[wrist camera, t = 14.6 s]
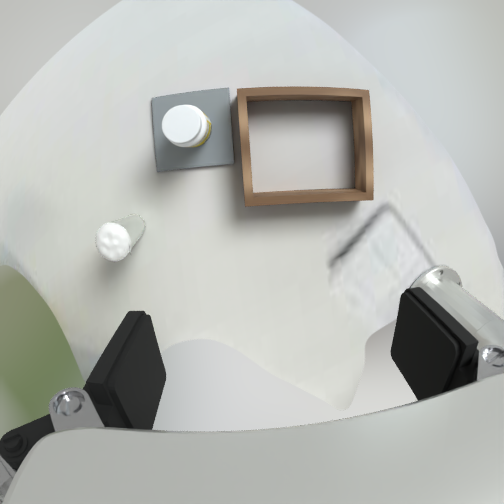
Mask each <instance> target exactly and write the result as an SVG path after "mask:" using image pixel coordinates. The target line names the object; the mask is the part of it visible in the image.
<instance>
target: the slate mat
mask: <svg viewBox="0 0 504 504" xmlns="http://www.w3.org/2000/svg"><path fill="white" fill-rule="evenodd" d="M179 105H192V106H195V107H197V108H199V109H200V110H201V111H202V112H203V113H204V114H205V115H206V116H207V117H208V118H209V119H210V121H211V124H212V133H211V135H210V137H209V139H208V140H207V141H206V142H205V143H204V144H203V145H201V146H198V147H179V146H176V145H174V144H173V143H171V142H170V141H169V140H168V139H167V138H166V136H165V135H164V133H163V131H162V120H163V118H164V116H165V114H166V113H167V112H168V111H169V110H170V109H171V108H173V107H175V106H179ZM152 111H153V127H154V140H155V152H156V163H157V172H160V171H168V170H176V169H184V168H193V167H203V166H213V165H224V164H234V153H233V139H232V125H231V111H230V97H229V88H220V89H210V90H201V91H193V92H186V93H179V94H172V95H166V96H160V97H155V98H152Z"/></svg>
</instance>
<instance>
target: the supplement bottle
mask: <svg viewBox="0 0 504 504" xmlns="http://www.w3.org/2000/svg"><path fill="white" fill-rule="evenodd" d="M162 131H163V133H164V135H165V136H166V138H167V139H168V140H169V141H170V142H171V143H173V144H174V145H176V146H179V147H198V146H201V145H203V144H204V143H205V142H206V141H207V140H208V139H209V137H210V135H211V133H212V124H211V121H210V119H209V118H208V117H207V116H206V115H205V114H204V113H203V112H202V111H201V110H200V109H199V108H197V107H195V106H192V105H179V106H175V107H173V108H171V109H170V110H169V111H168V112H167V113H166V114H165V116H164V118H163V120H162Z"/></svg>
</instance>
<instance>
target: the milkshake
mask: <svg viewBox="0 0 504 504" xmlns="http://www.w3.org/2000/svg"><path fill="white" fill-rule="evenodd" d="M144 230H145V222H144V220H143V219H142V218H141V217H140V215H136V214H131V215H128V216H126V217H123V218H121V219H118V220H115V221H112V222H109V223H106V224H104V225H102V226H101V227H100V228H99V230H98V231H97V233H96V240H95V241H96V247H97V249H98V251H99V253H100V255H101V256H102V257H103V258H105V259H107V260H110V261H114V262H115V261H119V260H122V259H123V258H125V257H126V256H127V255H128V253H129V251H130V254H131V248H132V247H133V246H134V244H135V243H136V242H137V240H138V239H139V238H140V237H141V235H142V234H143V232H144Z"/></svg>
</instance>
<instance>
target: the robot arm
mask: <svg viewBox="0 0 504 504" xmlns="http://www.w3.org/2000/svg"><path fill="white" fill-rule="evenodd" d="M391 356H392V359H393V361H394V362H395V364H396V365H397V367H398V368H399V370H400V372H401V373H402V374H403V376H404V378H405V380H406V381H407V383H408V385H409V386H410V388H411V389H412V391H413V393H414V394H415V396H416V398H417V399H418V401H416V402H413V403H409V404H405V405H402V406H398V407H394V408H390V409H386V410H382V411H378V412H374V413H369V414H364V415H360V416H355V417H350V418H345V419H339V420H334V421H327V422H321V423H315V424H308V425H300V426H292V427H283V428H272V429H260V430H246V431H245V430H244V431H217V432H191V431H189V432H188V431H161V430H152V428H153V424H154V420H155V417H156V413H157V409H158V406H159V402H160V399H161V395H162V392H163V388H164V385H165V381H166V372H165V368H164V364H163V361H162V357H161V354H160V350H159V347H158V343H157V339H156V336H155V332H154V328H153V324H152V320H151V317H150V315H146V313H145V312H144V311H129V312H128V313H127V315H126V316H125V318H124V319H123V321H122V322H121V324H120V326H119V327H118V329H117V330H116V332H115V334H114V335H113V337H112V339H111V340H110V342H109V344H108V345H107V347H106V349H105V350H104V352H103V354H102V355H101V357H100V359H99V360H98V362H97V364H96V365H95V367H94V369H93V371H92V372H91V374H90V376H89V378H88V379H87V381H86V384H85V386H84V388H83V389H81V388H76V387H75V388H67V389H64V390H61V391H59V392H58V393H57V394H55V395H54V396H53V398H52V399H51V400H50V403H49V412H50V414H48V415H46V416H44V417H41V418H39V419H37V420H34V421H32V422H30V423H28V424H25V425H23V426H21V427H18V428H16V429H13V430H11V431H9V432H7V433H6V434H5V435H4V436H3V437H2V438H1V440H0V504H504V320H503V319H501V318H500V317H499V316H498V315H497V314H495V313H494V312H493V311H492V310H490V309H489V308H488V307H487V306H485V305H484V304H483V303H482V302H480V301H479V300H478V299H476V298H475V297H474V296H473V295H471V294H470V293H469V292H467V291H466V290H465V289H463V288H462V282H461V279H460V277H459V275H458V274H457V272H456V271H454V270H453V269H451V268H449V267H447V266H437V267H433V268H431V269H429V270H427V271H426V272H424V273H423V274H422V275H421V276H420V277H419V278H418V279H417V280H416V281H415V282H414V283H413V285H412V286H411V288H409V289H406V290H405V292H404V293H402V295H401V298H400V304H399V310H398V316H397V322H396V327H395V332H394V337H393V342H392V347H391Z"/></svg>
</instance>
